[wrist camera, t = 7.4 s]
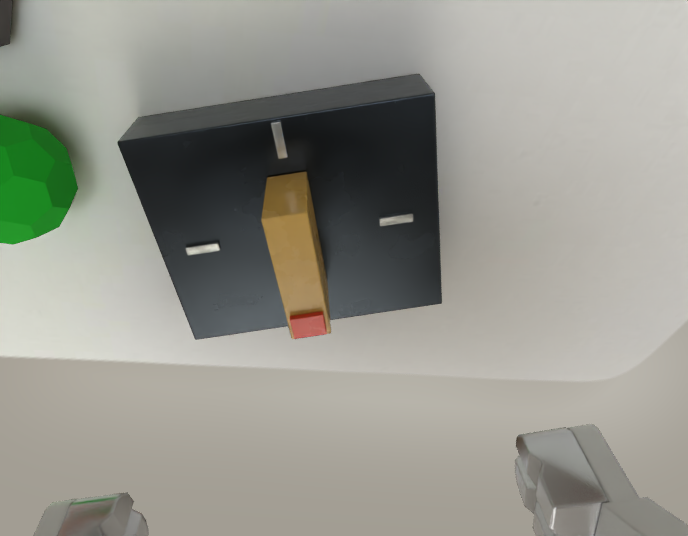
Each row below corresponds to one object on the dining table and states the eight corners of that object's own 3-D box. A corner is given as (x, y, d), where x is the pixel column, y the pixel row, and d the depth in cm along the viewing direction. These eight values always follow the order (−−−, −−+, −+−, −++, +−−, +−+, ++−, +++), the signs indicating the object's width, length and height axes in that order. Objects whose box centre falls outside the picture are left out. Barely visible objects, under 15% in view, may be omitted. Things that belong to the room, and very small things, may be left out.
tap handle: (266, 177, 20) (260, 222, 17) (306, 170, 20) (307, 215, 17) (292, 288, 23) (291, 343, 20) (327, 282, 23) (331, 337, 20)
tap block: (419, 73, 21) (436, 94, 19) (429, 268, 27) (442, 306, 24) (137, 117, 22) (115, 143, 19) (204, 302, 27) (194, 342, 25)
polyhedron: (-50, 97, 21) (-133, 138, 17) (77, 100, 21) (25, 141, 17) (-8, 208, 24) (-71, 266, 20) (103, 209, 24) (64, 265, 20)
